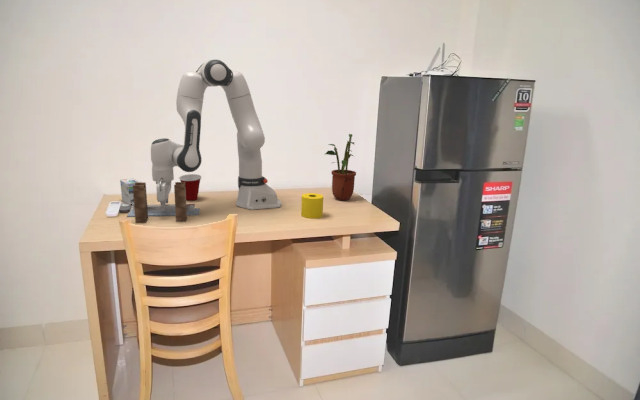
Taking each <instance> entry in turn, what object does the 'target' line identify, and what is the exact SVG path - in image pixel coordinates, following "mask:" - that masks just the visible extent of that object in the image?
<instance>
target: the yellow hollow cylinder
mask: <svg viewBox="0 0 640 400" xmlns="http://www.w3.org/2000/svg"><path fill="white" fill-rule="evenodd" d="M300 206H301V207H300V208H301V209H300V211H301V212H300V215H301V218H305V219H309V220H311V219H313V220H314V219H321V218H322V217H323V215H324V214H323V210H324V195H323V194H321V193H315V192H309V193H308V192H307V193H302V194H301V205H300Z"/></svg>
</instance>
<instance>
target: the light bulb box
mask: <svg viewBox="0 0 640 400" xmlns="http://www.w3.org/2000/svg"><path fill="white" fill-rule="evenodd" d="M119 182H120V183H119V184H120V192H121V202H124V203H125V204H127V203H128V204H132V205H131V206H134V196H133V185H135V183H140V182H141V181H140V180H138V179H136V178H134V177H133V178H132V177H131V178H124V179H120V180H119ZM128 204H127V205H128Z"/></svg>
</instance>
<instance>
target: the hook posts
mask: <svg viewBox="0 0 640 400" xmlns="http://www.w3.org/2000/svg"><path fill="white" fill-rule="evenodd" d="M146 183H147V182H143V181H140V183H135V185H133V196H134V205H133V206H134V208H135V217H134V221H135V224H147V222H148V221H149V217H148V208H147V205H148V199H147V198H148V195H147V186H146V185H147V184H146ZM173 186H174V187H173V189H174V191H173V192H174V204H175V213H176V216H175V222H176V223H187V218H188V216H187V209H186V204H187V200H186V187H185V182H181V181H177V182H174V185H173Z"/></svg>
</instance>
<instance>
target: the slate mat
mask: <svg viewBox="0 0 640 400" xmlns="http://www.w3.org/2000/svg"><path fill="white" fill-rule="evenodd" d="M200 210H201V209H200V208H199V207H195V212H187V217H188V216H189V217H190V216H200ZM149 217H176V213H148V218H149ZM126 218H135V214H133V209H130V211H129V212H128V213H127V214H126Z"/></svg>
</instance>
